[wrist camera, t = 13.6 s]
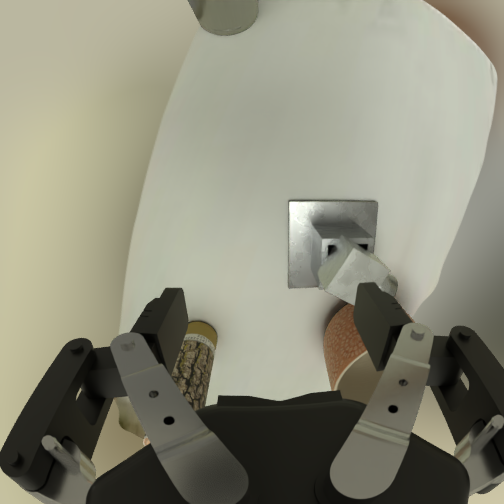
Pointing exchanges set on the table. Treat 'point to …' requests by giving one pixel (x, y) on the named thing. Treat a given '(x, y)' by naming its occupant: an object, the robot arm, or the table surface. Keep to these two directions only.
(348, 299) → the silver block with cylinder
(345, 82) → the table surface
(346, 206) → the duct socket
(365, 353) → the planter
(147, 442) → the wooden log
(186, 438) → the robot arm
